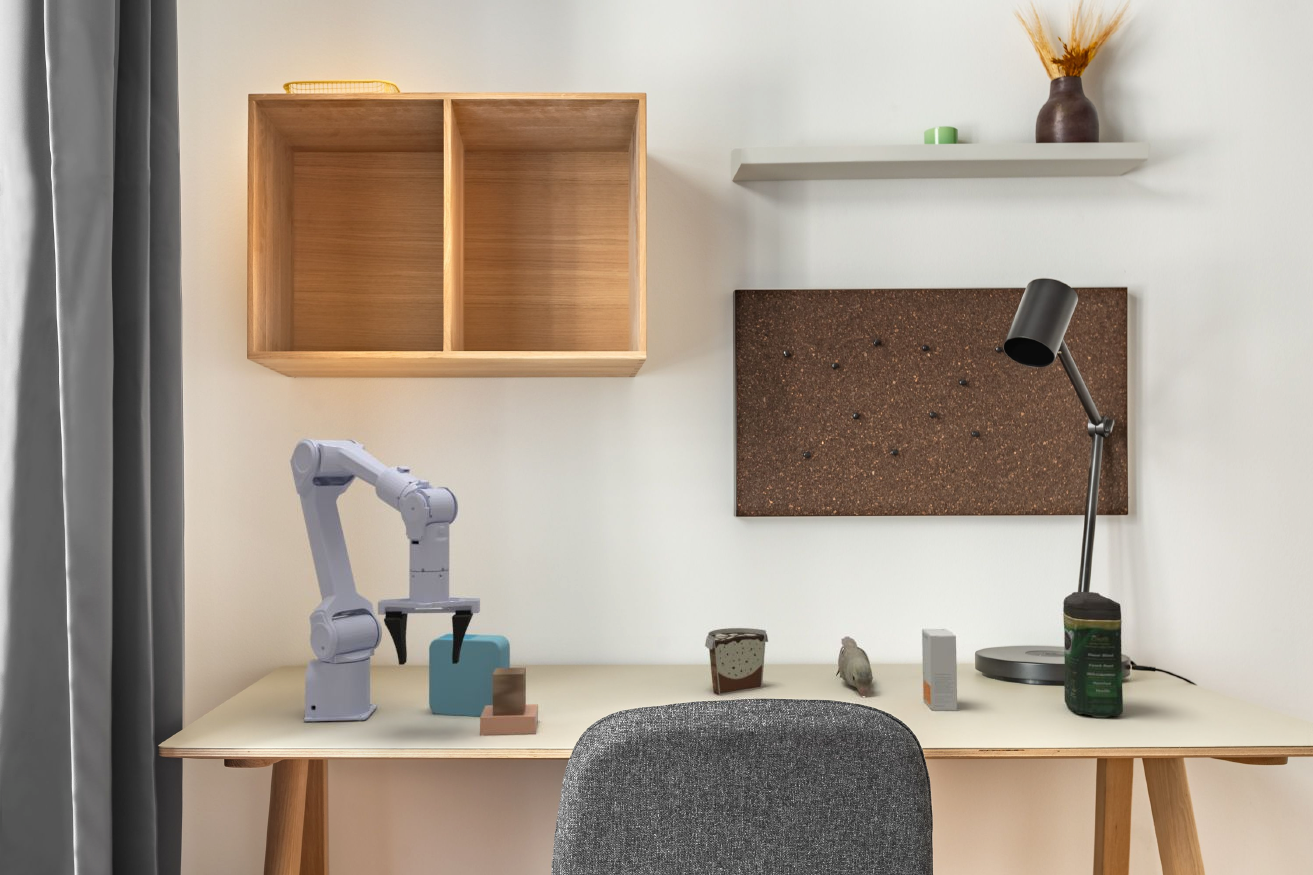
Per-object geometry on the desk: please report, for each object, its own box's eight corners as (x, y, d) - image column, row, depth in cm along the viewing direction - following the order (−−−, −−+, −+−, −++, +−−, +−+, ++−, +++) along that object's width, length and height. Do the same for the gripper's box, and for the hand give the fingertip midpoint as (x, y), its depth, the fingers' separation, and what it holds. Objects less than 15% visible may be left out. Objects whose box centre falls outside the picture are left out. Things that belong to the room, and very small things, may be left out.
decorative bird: (848, 698, 156) (848, 653, 156) (832, 676, 172) (832, 636, 172) (880, 698, 156) (880, 653, 156) (861, 676, 172) (861, 636, 172)
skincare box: (922, 701, 154) (921, 628, 154) (948, 701, 153) (947, 628, 154) (931, 710, 147) (929, 634, 148) (958, 711, 147) (957, 635, 148)
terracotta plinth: (480, 734, 135) (480, 717, 136) (485, 721, 142) (485, 705, 142) (535, 733, 136) (535, 716, 136) (538, 720, 143) (538, 704, 143)
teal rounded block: (510, 710, 149) (510, 635, 150) (500, 717, 145) (500, 640, 145) (440, 706, 152) (440, 633, 152) (428, 714, 147) (428, 638, 147)
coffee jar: (1130, 720, 141) (1127, 597, 142) (1074, 717, 143) (1072, 596, 144) (1111, 704, 151) (1109, 589, 151) (1059, 701, 152) (1057, 588, 153)
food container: (747, 680, 169) (746, 625, 169) (768, 686, 164) (768, 630, 164) (691, 689, 162) (691, 631, 163) (711, 696, 157) (711, 637, 158)
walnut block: (492, 715, 137) (492, 674, 137) (495, 707, 141) (495, 667, 141) (523, 714, 137) (523, 673, 137) (525, 706, 141) (525, 667, 142)
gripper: (372, 573, 132) (372, 669, 132) (475, 572, 133) (475, 667, 133) (383, 568, 139) (383, 659, 139) (481, 566, 140) (481, 657, 140)
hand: (429, 662), depth 136 cm, fingers open, 7 cm apart
